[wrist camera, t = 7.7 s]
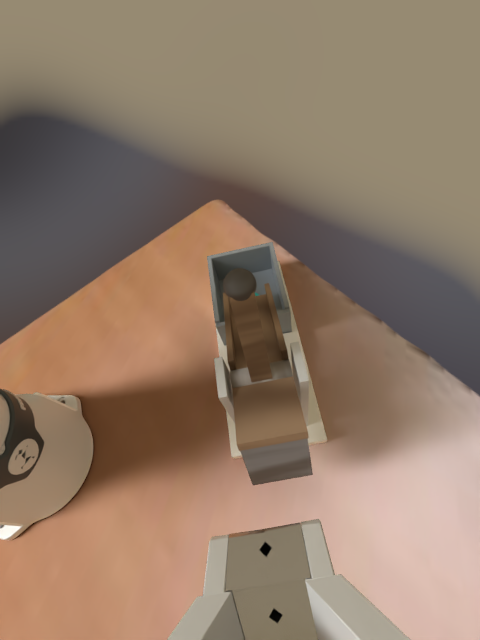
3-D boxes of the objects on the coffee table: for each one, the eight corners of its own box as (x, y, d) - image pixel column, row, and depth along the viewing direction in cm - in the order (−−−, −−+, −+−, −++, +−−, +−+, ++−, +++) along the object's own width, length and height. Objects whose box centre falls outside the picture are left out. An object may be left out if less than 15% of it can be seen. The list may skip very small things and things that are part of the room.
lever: (313, 474, 32) (292, 319, 20) (251, 485, 32) (197, 339, 21) (277, 334, 48) (254, 202, 36) (236, 342, 48) (200, 215, 37)
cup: (291, 331, 51) (290, 309, 46) (224, 345, 51) (215, 325, 46) (275, 267, 58) (272, 242, 53) (215, 280, 58) (207, 256, 53)
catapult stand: (326, 442, 44) (336, 398, 29) (233, 459, 44) (199, 424, 30) (279, 266, 59) (271, 182, 45) (211, 281, 60) (182, 203, 46)
